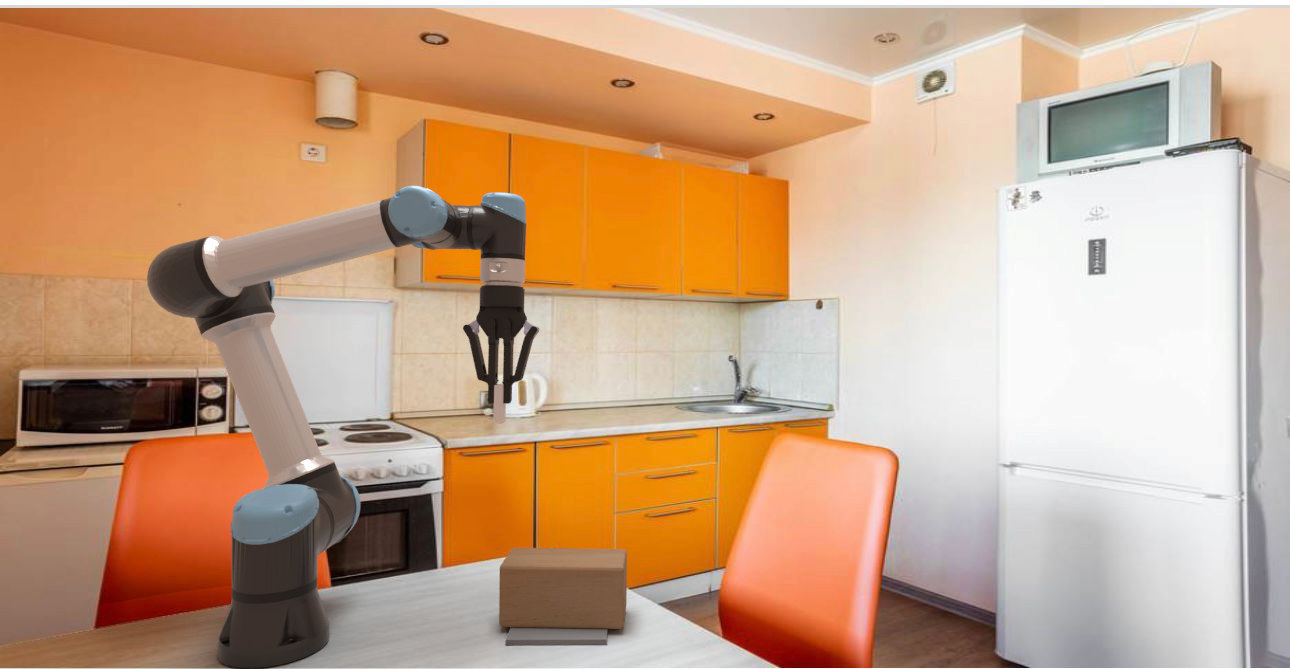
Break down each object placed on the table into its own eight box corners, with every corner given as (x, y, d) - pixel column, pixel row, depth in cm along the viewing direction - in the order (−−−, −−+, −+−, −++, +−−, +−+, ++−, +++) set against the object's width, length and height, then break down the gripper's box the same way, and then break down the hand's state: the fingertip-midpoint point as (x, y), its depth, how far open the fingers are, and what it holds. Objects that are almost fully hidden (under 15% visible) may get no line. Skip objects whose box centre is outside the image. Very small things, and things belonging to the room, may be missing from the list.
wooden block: (511, 604, 125) (626, 606, 124) (498, 628, 115) (623, 630, 114) (511, 546, 125) (626, 548, 124) (498, 565, 115) (623, 567, 114)
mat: (505, 645, 110) (505, 639, 110) (524, 596, 130) (524, 592, 130) (606, 644, 111) (606, 639, 111) (609, 596, 131) (609, 592, 131)
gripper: (458, 282, 119) (455, 424, 119) (537, 284, 119) (533, 426, 119) (469, 285, 127) (467, 418, 127) (543, 287, 127) (540, 420, 127)
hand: (499, 422), depth 123 cm, fingers closed
